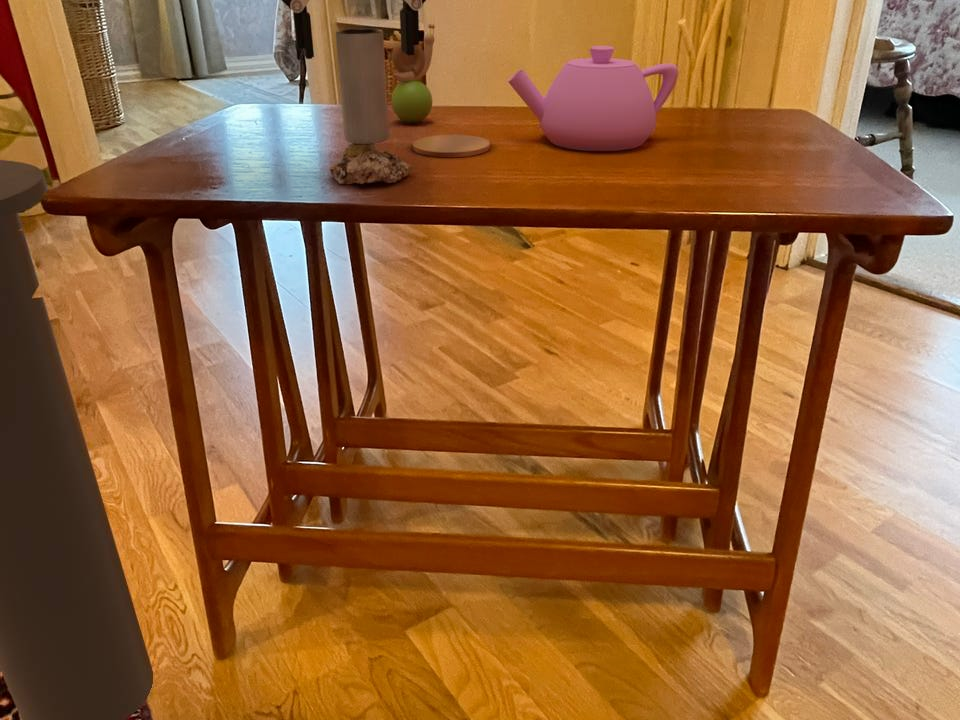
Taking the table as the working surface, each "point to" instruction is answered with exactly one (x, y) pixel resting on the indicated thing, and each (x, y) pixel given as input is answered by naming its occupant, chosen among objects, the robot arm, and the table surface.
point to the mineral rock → (368, 166)
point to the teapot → (598, 102)
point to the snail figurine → (412, 81)
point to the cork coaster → (451, 146)
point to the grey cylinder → (363, 85)
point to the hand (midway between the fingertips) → (359, 55)
